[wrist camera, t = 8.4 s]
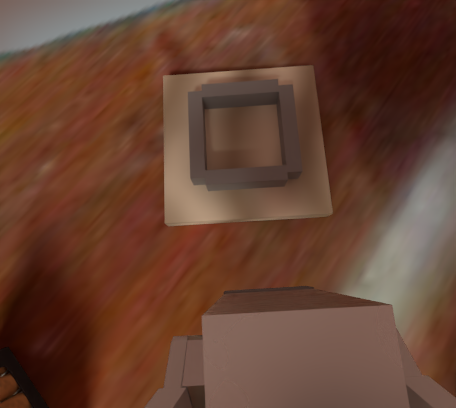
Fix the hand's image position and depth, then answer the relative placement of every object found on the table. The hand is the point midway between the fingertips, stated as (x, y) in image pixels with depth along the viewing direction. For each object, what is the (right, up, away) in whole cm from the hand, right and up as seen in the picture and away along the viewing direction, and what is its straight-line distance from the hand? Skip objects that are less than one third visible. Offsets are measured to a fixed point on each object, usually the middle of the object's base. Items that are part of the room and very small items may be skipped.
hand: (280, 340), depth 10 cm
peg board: (0, +10, +18) cm, 21 cm away
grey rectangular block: (0, -2, +6) cm, 6 cm away
